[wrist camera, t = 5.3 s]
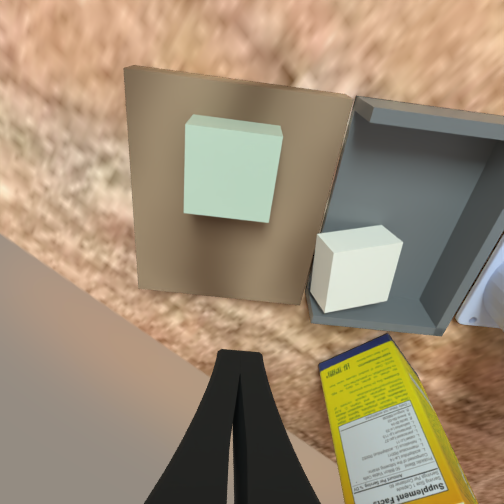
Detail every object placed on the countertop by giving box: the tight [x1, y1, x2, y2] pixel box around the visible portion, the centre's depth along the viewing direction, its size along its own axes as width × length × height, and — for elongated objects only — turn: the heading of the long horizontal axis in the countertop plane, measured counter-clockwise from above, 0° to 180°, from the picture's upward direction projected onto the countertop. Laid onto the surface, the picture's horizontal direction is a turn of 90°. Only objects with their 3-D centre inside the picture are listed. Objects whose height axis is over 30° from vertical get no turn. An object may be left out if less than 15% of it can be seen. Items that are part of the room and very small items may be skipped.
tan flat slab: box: [124, 65, 353, 305], centre depth 19 cm, size 10×12×2 cm
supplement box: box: [319, 334, 478, 504], centre depth 22 cm, size 6×6×11 cm
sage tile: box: [184, 114, 283, 223], centre depth 16 cm, size 4×4×2 cm
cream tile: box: [310, 225, 403, 313], centre depth 20 cm, size 4×4×2 cm
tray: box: [305, 96, 504, 336], centre depth 19 cm, size 8×12×3 cm, turn 173°
